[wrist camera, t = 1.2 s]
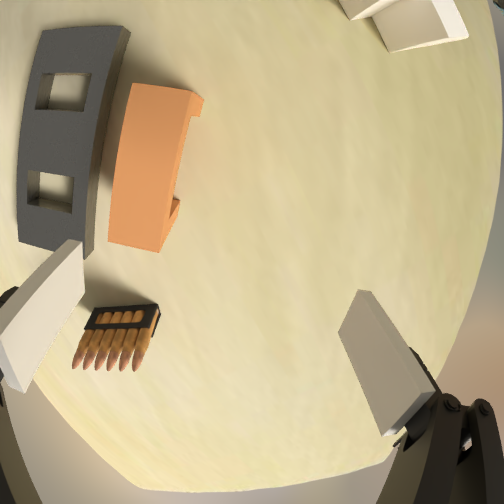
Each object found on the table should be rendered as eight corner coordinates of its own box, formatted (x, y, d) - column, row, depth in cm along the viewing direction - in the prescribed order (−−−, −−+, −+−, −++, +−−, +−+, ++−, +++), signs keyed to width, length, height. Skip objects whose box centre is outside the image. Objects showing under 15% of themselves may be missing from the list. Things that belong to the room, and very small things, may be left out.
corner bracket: (329, -14, 22) (369, -56, 12) (399, -21, 21) (449, -49, 10) (368, 58, 27) (425, 40, 16) (432, 45, 25) (492, 35, 15)
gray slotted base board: (54, 34, 22) (42, 30, 19) (131, 32, 24) (122, 26, 21) (29, 233, 33) (18, 241, 30) (93, 249, 35) (84, 259, 32)
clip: (160, 92, 28) (132, 82, 19) (203, 99, 29) (192, 91, 20) (138, 208, 33) (107, 241, 24) (177, 216, 34) (158, 253, 25)
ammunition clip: (158, 303, 39) (138, 365, 29) (161, 314, 40) (144, 376, 29) (94, 307, 39) (64, 363, 28) (98, 317, 40) (70, 373, 29)
